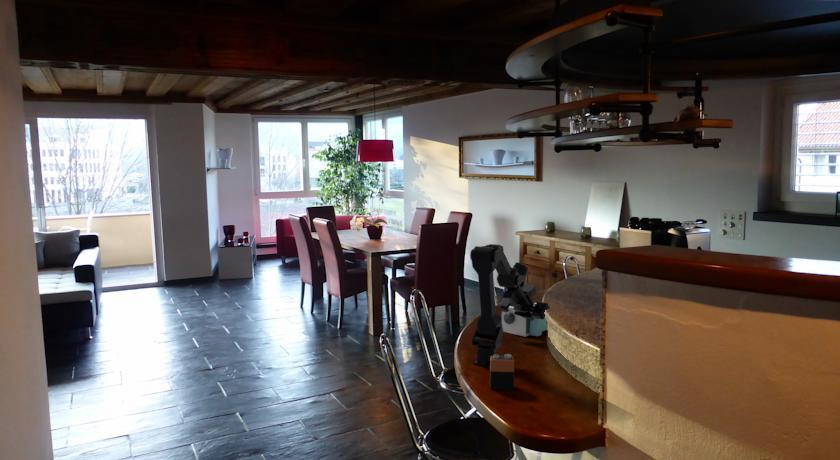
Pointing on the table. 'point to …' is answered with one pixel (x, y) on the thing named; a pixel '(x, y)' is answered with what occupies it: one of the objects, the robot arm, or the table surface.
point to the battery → (502, 372)
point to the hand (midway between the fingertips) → (532, 319)
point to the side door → (537, 326)
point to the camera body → (515, 323)
